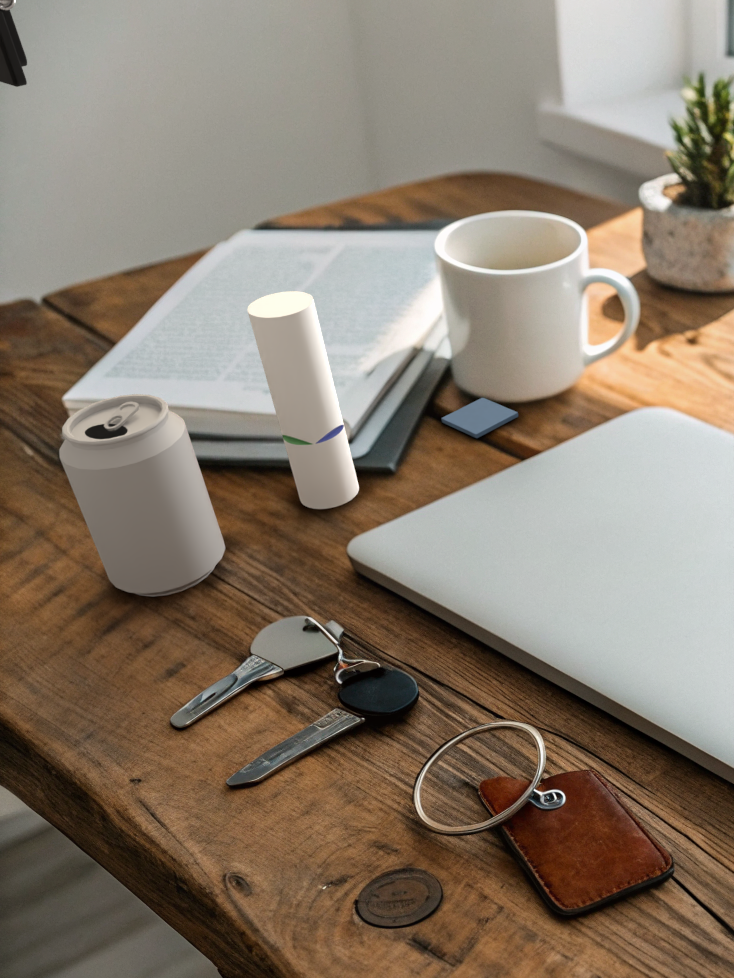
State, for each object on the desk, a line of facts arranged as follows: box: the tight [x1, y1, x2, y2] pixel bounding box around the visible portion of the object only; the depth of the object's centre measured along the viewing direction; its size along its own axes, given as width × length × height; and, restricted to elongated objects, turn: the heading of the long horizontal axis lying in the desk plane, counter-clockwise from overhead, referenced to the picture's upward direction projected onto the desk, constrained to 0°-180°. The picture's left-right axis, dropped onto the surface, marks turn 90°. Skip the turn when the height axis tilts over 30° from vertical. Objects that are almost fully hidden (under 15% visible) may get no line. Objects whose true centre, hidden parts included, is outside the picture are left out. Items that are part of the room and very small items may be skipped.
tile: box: [440, 397, 519, 439], centre depth 94 cm, size 4×4×1 cm
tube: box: [246, 290, 360, 510], centre depth 82 cm, size 4×4×15 cm
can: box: [58, 393, 226, 598], centre depth 76 cm, size 8×8×12 cm
